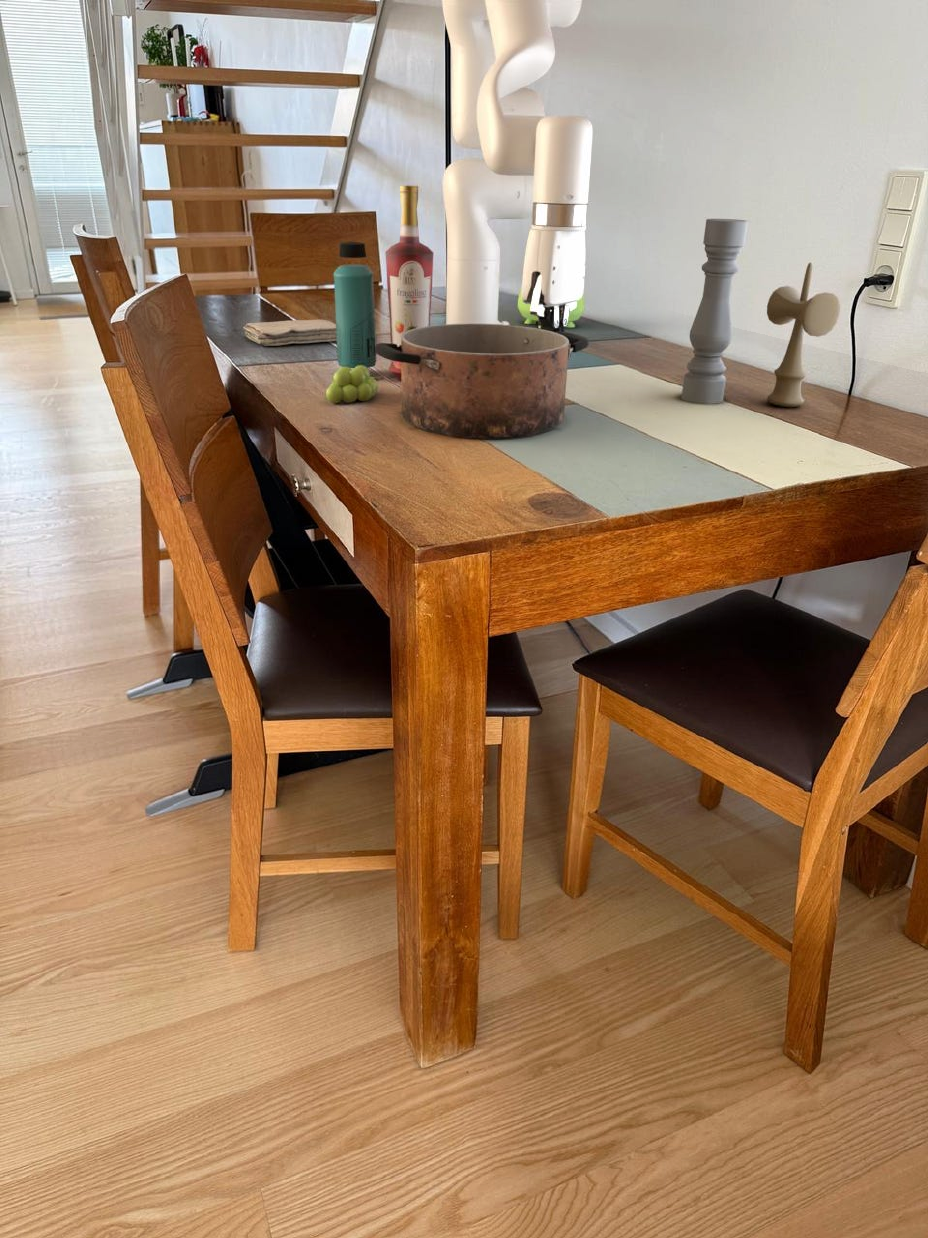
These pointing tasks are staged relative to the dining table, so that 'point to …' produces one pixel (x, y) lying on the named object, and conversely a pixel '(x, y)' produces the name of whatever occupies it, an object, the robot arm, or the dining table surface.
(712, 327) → the candle holder
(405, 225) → the liquor
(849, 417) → the dining table surface
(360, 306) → the beverage bottle
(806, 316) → the kendama
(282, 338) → the washcloth
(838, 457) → the dining table surface
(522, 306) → the teapot
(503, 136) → the robot arm
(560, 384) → the cooking pot
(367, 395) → the grapes
